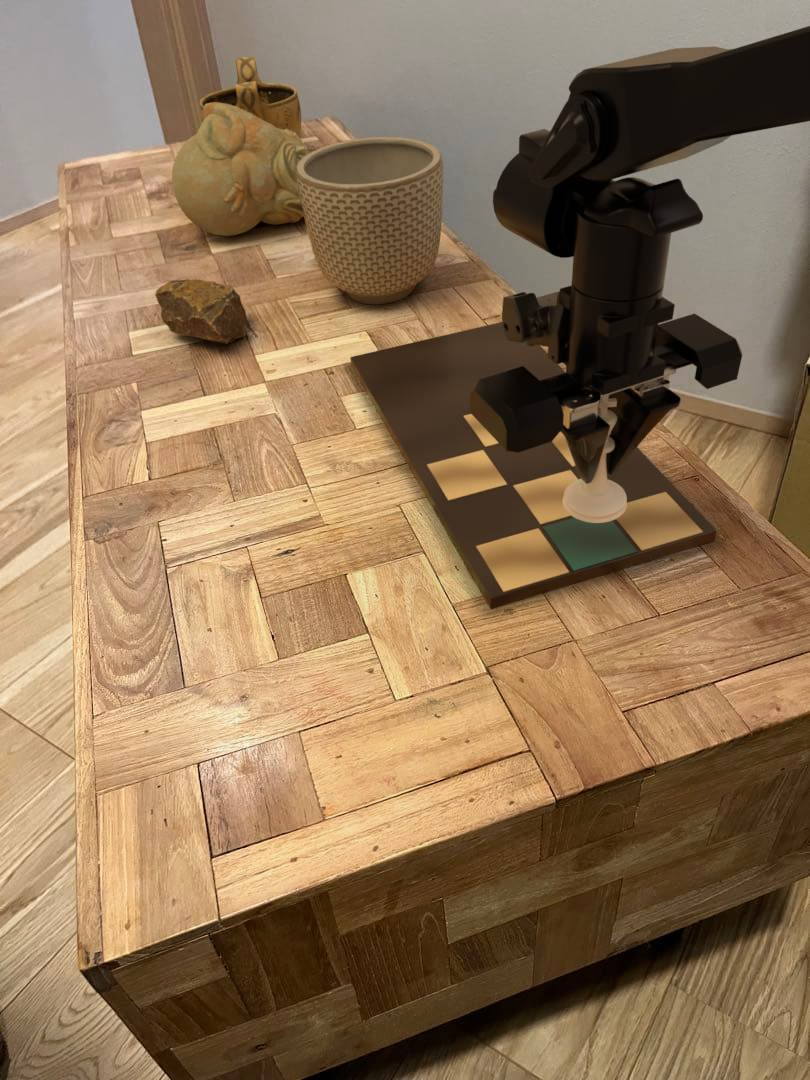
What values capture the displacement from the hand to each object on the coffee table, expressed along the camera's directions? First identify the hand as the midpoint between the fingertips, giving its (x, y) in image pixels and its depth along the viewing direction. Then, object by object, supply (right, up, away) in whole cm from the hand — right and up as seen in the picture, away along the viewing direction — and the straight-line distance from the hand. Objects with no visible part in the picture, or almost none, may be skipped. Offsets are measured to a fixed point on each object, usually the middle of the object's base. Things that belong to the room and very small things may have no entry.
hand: (597, 476), depth 63 cm
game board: (-5, +5, +18) cm, 19 cm away
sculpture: (-37, +43, +63) cm, 84 cm away
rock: (-38, +20, +38) cm, 57 cm away
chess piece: (0, -2, +2) cm, 3 cm away
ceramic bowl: (-40, +62, +84) cm, 113 cm away
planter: (-18, +27, +44) cm, 55 cm away
